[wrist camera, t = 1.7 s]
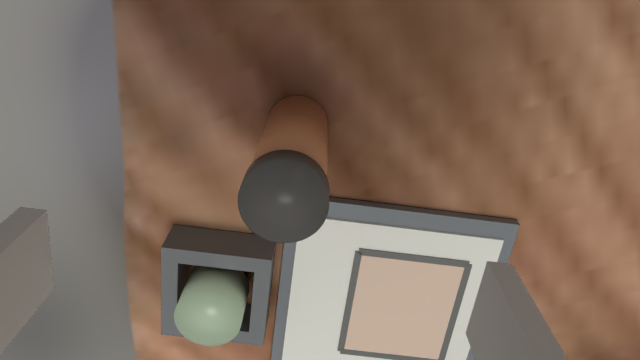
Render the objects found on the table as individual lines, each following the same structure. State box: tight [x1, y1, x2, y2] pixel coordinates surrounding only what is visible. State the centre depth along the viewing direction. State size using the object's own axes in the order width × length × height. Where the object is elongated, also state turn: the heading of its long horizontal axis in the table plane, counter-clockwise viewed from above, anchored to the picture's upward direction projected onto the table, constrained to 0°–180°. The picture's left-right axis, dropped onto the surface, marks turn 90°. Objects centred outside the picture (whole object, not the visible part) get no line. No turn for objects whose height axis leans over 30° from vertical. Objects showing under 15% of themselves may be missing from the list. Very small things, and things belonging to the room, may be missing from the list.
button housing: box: [161, 225, 276, 346], centre depth 31 cm, size 6×6×2 cm
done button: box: [174, 266, 249, 346], centre depth 29 cm, size 4×4×3 cm
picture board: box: [271, 197, 520, 360], centre depth 33 cm, size 19×13×1 cm
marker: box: [238, 95, 329, 243], centre depth 24 cm, size 3×3×9 cm
